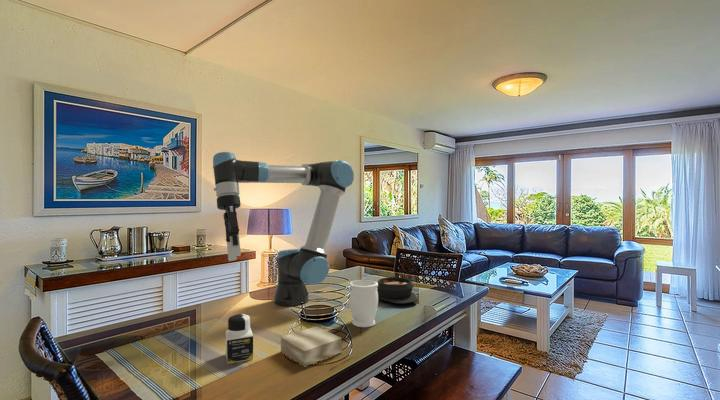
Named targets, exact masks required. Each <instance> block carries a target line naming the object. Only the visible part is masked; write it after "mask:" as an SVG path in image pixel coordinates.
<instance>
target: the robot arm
mask: <svg viewBox="0 0 720 400" xmlns="http://www.w3.org/2000/svg"><path fill="white" fill-rule="evenodd" d="M212 169H213V178H214V182H215V183H214V185H215V187H214V188H213V191H214V192H215V195H216V197H217V198H216V207H217V209H218V210H220V211H225V212H223V215H222V216H223V220H224V227H225V241H226V247H227V249H226V250H227V259H228V262H231V261H238V258H237V257H241V256H242V252H241V244H240V235H239V234H240V227H239V223H238V216H237V215H238V212H237V211H236V210H237V209H239V208H240V207H241V197H240V186H239V184H241V183H244V184H246V183H247V184H248V183H249V184H251V183H254V184H255V183H256V184H257V183H259V184H264V183H265V184H267V183H268V184H271V183H272V184H285V183H286V184H301V185H302V186H311V187H318V188H319V191H320V193H319V197H318V201H317V204H316V206H315V207H316V208H315V210H314V213H313V217H312V221H311V224H310V228H309V232H308V234H307V238H306V242H305V244H304V245H303V246H301V247H300V248H291V249H290V248H289V249H284V250H279V252H278V253H277V259H276V260H277V287H276V290H275V292H274V296H273V303H274V304H275V305H277V306H281V307H283V306H284V307H293V306H300V305H303V304H306V303H307V302H309V298H310V295H309V292H308V289H307V286H306V285H313V286H314V285H315V286H316V285H318V284H320V283H322V282H323V281H324V280H326V278H327V276H328V275H329V272H330V264H329V262H328V259H327V257H328V252H327V251H326V248H327V245H328V241H329V237H330V233H331V230H332V226H333V223H334V220H335V219H334V218H335V216H336V212H337V209H338V204H339V201H340V197H342V196H343V195H344V194H345V193H346V188H348V187H349V186H352V184H353V182H354V180H355V173H354V172H355V171H354V170H353V167H352V165H351V164H350V163H349V162H348V161H346V160H340V159H336V160H331V161H321V162H315V163H309V164H307V163H304V164H302V165H278V164H277V165H276V164H267V163H266V162H263V161H251V160H249V161H248V160H239V159H237V158H236V154H234V153H233V152H230V151H221V152H217V153H215V154H214V155H213V157H212ZM301 300H302V302H303V304H301Z"/></svg>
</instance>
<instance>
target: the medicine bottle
mask: <svg viewBox="0 0 720 400" xmlns="http://www.w3.org/2000/svg"><path fill="white" fill-rule="evenodd" d="M227 322H228V323H227V326H228V327H227V330H225V356H226V357H225V358H226V364H227V365H230V364H234V363H240V362H245V361H253V360H254V334H253V331H252V328H251V316H250V315H248V314H245V313H238V314H234V315H231V316H229V318H228V320H227Z"/></svg>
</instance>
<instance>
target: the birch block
mask: <svg viewBox="0 0 720 400" xmlns="http://www.w3.org/2000/svg"><path fill="white" fill-rule="evenodd" d="M342 339H343V338H342V337H341V336H338V335H336V334H334V333H332V332H329V331H327V330H325V329H323V328H322V327H320V326H317V325H316V326H313V327H309V328H306V329H303V330H298V331H296V332H293V333H290V334H287V335H283V336H280V353H281V352H282V353H281V354H283V355H284V354H285V355H284V356H286V355H287V356H289V357H291V358H292V359H294V360H296V361H297V362H299V363H300V364H302V365H304V366H307V365H309V364H311V363H314V362H316V361H319V360H321V359H324V358H327V357H329V356H332V355H336V354H338V353H341V352H342V353H343V349H342V348H343V345H342V344H343V343H342V341H343V340H342ZM287 356H286V357H287ZM289 357H288V358H289ZM291 358H290V359H291ZM292 359H291V360H292ZM294 360H293V361H294ZM297 362H296V363H297ZM300 364H299V365H300Z"/></svg>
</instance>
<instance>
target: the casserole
mask: <svg viewBox="0 0 720 400" xmlns="http://www.w3.org/2000/svg"><path fill="white" fill-rule="evenodd" d="M377 282H378V286H377V292H378V300H381V301H383V302H387V303H393V304H397V305H398V304H399V305H402V304H411V303H415V302H417V301H418V298H417V296H416V294H415V293H414V292H412V291H413V288H414V287H415V286H414V284H413V282H412V280H411V279H408V278H405V277H398V276H397V277H396V276H395V277H394V276H391V277H390V276H389V277H383V278H380V279H378V280H377Z"/></svg>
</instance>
